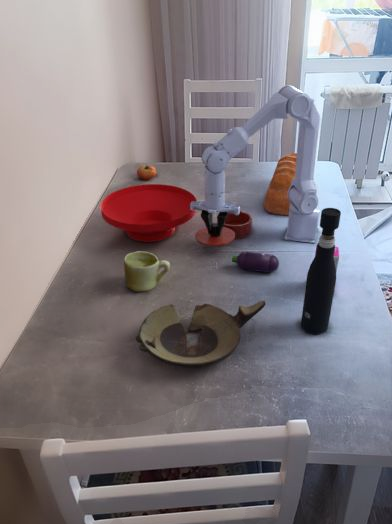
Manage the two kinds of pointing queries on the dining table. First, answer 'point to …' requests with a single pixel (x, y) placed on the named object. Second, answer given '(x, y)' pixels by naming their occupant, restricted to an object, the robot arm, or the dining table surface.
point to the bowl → (148, 210)
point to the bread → (281, 185)
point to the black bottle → (321, 277)
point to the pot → (239, 224)
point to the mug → (143, 270)
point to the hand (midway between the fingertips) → (215, 233)
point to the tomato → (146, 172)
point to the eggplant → (256, 261)
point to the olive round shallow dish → (204, 318)
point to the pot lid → (215, 236)
